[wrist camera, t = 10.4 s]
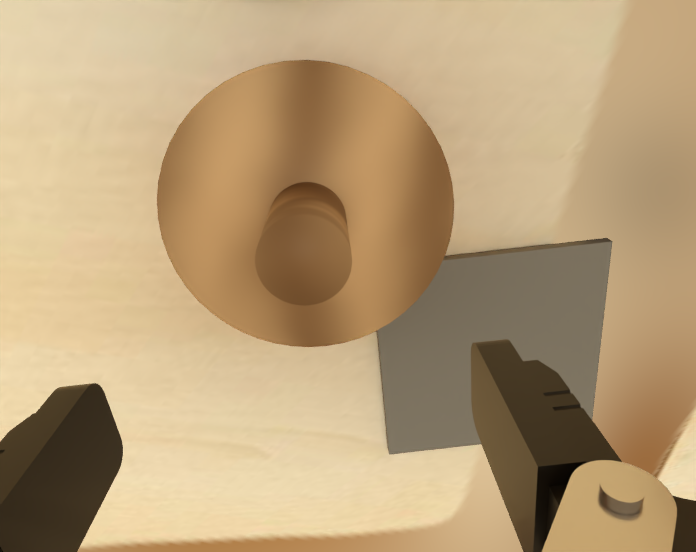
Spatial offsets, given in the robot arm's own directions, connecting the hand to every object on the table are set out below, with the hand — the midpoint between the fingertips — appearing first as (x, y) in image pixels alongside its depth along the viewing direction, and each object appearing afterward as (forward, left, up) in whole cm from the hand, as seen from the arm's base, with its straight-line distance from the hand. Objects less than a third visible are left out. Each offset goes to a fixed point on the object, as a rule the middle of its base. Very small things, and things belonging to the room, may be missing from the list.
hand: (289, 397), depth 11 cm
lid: (0, 0, -13) cm, 13 cm away
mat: (-10, +12, -18) cm, 24 cm away
